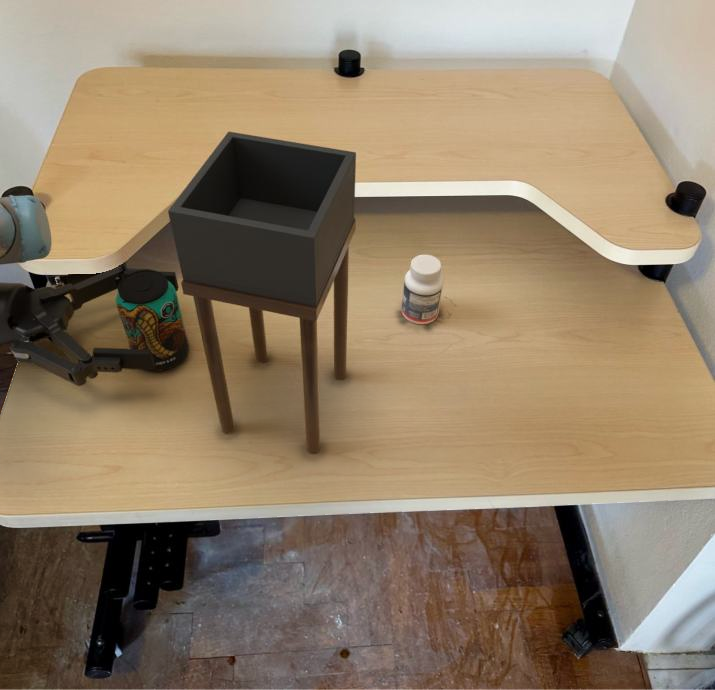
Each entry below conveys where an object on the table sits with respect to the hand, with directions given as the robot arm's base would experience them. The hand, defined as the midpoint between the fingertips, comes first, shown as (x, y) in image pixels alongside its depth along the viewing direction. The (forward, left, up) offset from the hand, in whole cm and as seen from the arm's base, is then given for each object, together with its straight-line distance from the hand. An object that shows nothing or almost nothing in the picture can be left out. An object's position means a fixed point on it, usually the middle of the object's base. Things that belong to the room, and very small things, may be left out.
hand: (165, 318), depth 83 cm
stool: (-3, -16, -7) cm, 18 cm away
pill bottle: (+17, -29, -7) cm, 34 cm away
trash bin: (-3, -16, +17) cm, 24 cm away
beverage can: (0, +2, -7) cm, 7 cm away
